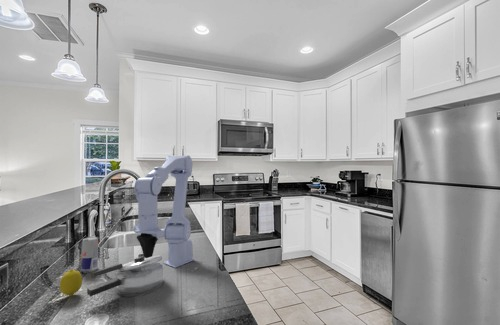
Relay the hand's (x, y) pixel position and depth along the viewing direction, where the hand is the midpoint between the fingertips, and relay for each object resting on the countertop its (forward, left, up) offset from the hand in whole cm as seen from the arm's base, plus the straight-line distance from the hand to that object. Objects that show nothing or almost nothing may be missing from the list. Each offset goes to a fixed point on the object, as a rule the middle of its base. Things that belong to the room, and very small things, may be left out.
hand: (148, 256), depth 77 cm
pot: (+4, -5, -10) cm, 12 cm away
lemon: (+16, -16, -11) cm, 25 cm away
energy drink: (+5, -33, -11) cm, 35 cm away
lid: (+4, -5, -4) cm, 7 cm away
